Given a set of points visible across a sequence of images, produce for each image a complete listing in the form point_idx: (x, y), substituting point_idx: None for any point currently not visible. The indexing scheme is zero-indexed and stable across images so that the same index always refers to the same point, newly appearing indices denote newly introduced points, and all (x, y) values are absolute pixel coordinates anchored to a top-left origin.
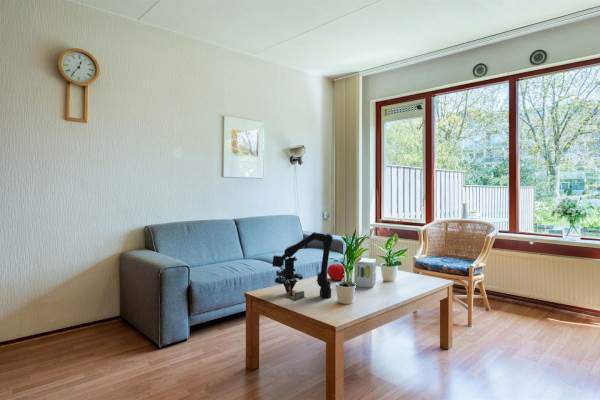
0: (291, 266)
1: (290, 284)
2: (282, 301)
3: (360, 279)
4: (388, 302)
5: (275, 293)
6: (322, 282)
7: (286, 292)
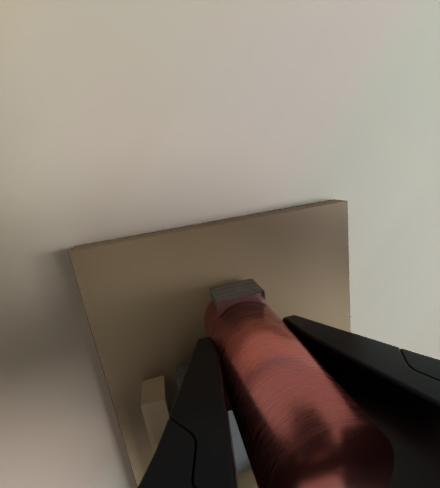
0: None
1: (414, 435)
2: (9, 472)
3: None
4: None
5: (107, 31)
6: None
7: (216, 302)
